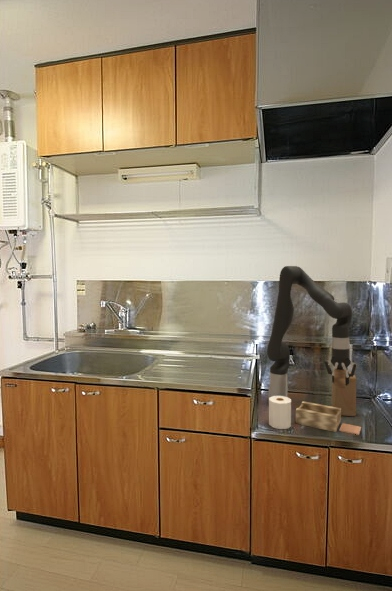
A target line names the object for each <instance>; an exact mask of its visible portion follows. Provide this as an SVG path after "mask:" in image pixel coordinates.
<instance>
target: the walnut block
mask: <svg viewBox="0 0 392 591" xmlns="http://www.w3.org/2000/svg"><path fill="white" fill-rule="evenodd" d="M333 369H334V368H333ZM334 387H338V388H346V375H345V370H342V369H334Z"/></svg>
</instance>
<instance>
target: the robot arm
mask: <svg viewBox="0 0 392 591" xmlns="http://www.w3.org/2000/svg"><path fill="white" fill-rule="evenodd" d="M278 281H279V282H278V291H277V292H278V293H277V294H278V295H277V300H276V307H275V312H274V318H273V324H272V327H271V328H272V329H271V334H270V337H269V340H268V341H269V342H268V345H267V348H266V354H267V357H268V359H269V360H270V361H271V362H274V363H273V364H272V365H271V366H270V368H269V385H268V398H269V397H272V396H284V397H288V372H289V371H288V370H289V368H290V360H291V358H290V357H291V352H290V351H291V350H290V347H289V346H288V344H287V343H286V342H283V338H284V336H285V334H287V331H288V330H289V328H290V326H291V324H292V323H293V318H294V310H295V307H294V303H293V300H292V298H291V297H292V295H291V291H292V286H293V285H298V286H300V287H302V288H304V289H305V291H307V293H308V295H309V297H310V298H311V299H312V301H314V302H315V303H317V304H318V305H319V306H321V307H322V308H323V310H324V311H325V312H326V314H327V315H328V316H330V317H331V318H333V319H334V320H335V319H336V322H335V323H334V324H333V325H332V327H331V357H330V358H331V359H330V360H328V359H326V360H325V361H324V365H325V368H326V372H327V374H328V375H331V383H332V382H333V383H334V369H342V370H345V375H346V386H348V385H349V383H350V377H353V375H354V376H355V373H356V370H357V366H358V363H357V362H353V361H351V359H350V358H351V356H350V354H351V353H350V352H351V350H350V348H351V343H350V329H349V328H350V324H351V321H352V316H353V315H352V314H353V310H352V307H351V305H350V304H349V303H347V302H337V301H335V297H334V296H333V295H332V293H330V292H328V291H327V290H326V289H324V288H323V287H322V286H321V285H319V284H318V283H317V282H316V281H314V280H313V279H312V278H311V276H309V275H308V273H307V272H306V271H305V270H304V269H303V268H302V267H300V266H297V265H286V266H284V267H282V268H281V270H280V273H279V280H278ZM331 364H332V367H333V369H332V368H331ZM349 366H351V368H352V369H351V371H349V368H348V367H349ZM349 372H351V373H350V374H349Z"/></svg>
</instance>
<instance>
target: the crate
mask: <svg viewBox="0 0 392 591" xmlns="http://www.w3.org/2000/svg"><path fill="white" fill-rule="evenodd" d="M341 422H342V415H341V408H337V407H331V405H325V404H320V403H315V402H308V401H301V404H300V405H299V407H296V409H295V424H297V425H302V426H306V427H311V428H314V429H315V428H316V429H320V430H325V431H329V432H334V433H337V431H338V430H339V428H340V426H341V425H340V424H342V423H341Z"/></svg>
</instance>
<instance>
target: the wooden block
mask: <svg viewBox="0 0 392 591" xmlns="http://www.w3.org/2000/svg"><path fill="white" fill-rule="evenodd" d="M350 373H351V371H349V374H350ZM330 397H331V405H330V406H331V407H337V408H341V417H342V416H345V417H346V416H347V417H356V415H357V414H356V413H357V377H356V375H355V374H354V375H353V377H350V383H349V385H348V386H346V388H338V387H334V383H333V382H332V381H331V396H330Z"/></svg>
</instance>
